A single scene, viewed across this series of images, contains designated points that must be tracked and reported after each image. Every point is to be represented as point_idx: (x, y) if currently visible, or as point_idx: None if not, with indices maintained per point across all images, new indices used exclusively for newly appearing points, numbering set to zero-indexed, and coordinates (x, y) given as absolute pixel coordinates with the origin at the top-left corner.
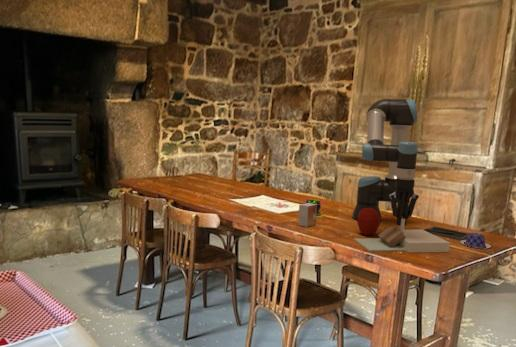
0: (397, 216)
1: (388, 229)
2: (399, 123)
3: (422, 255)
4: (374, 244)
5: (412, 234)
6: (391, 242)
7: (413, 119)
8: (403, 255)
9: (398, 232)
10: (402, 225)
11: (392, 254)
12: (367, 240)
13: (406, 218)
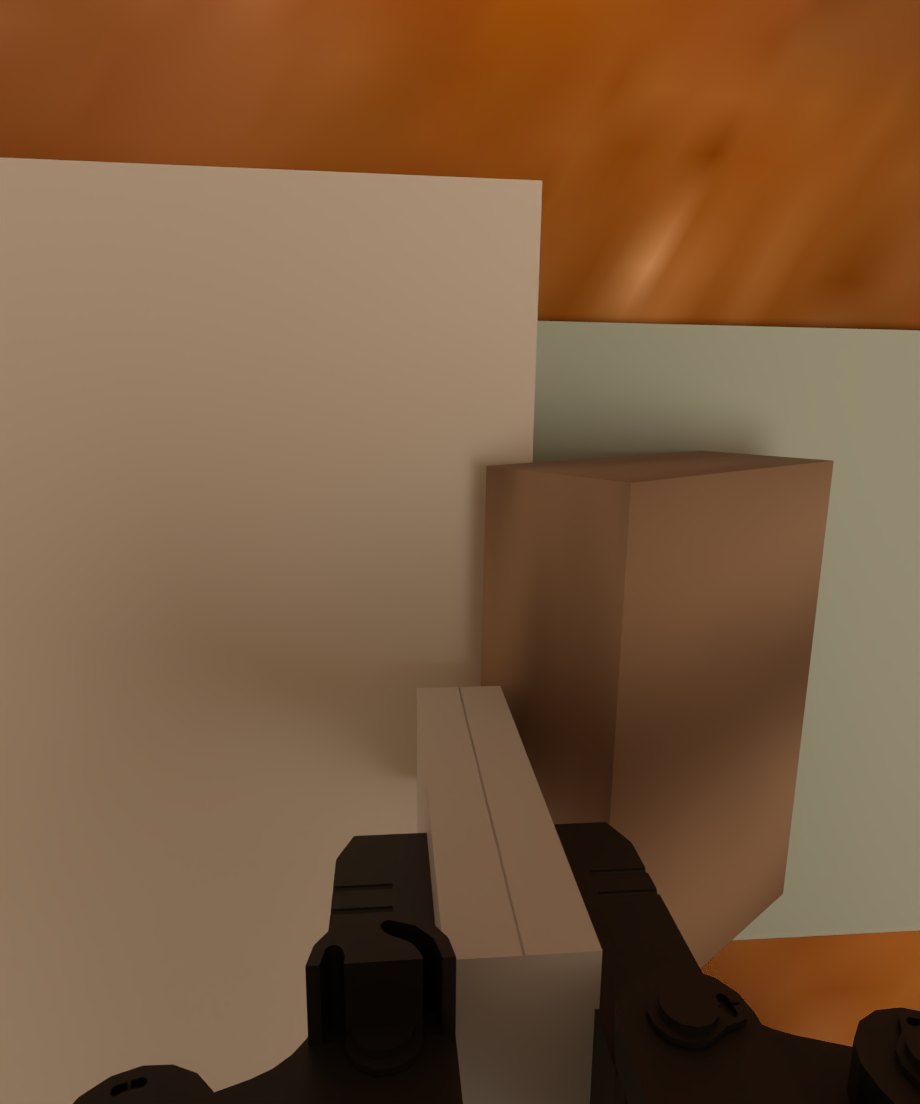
0: (877, 1032)
1: None
2: None
3: (325, 39)
4: (910, 628)
5: (94, 835)
6: (770, 460)
7: None
8: (693, 79)
9: (663, 573)
10: (501, 790)
11: (857, 155)
12: (901, 832)
13: (418, 922)
